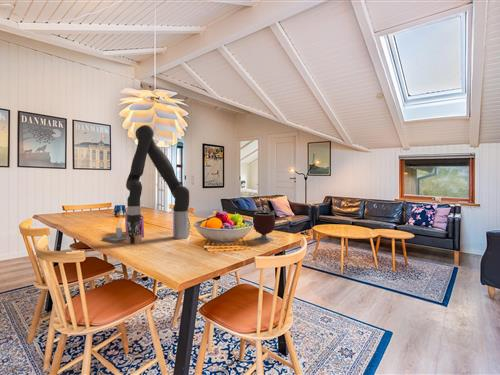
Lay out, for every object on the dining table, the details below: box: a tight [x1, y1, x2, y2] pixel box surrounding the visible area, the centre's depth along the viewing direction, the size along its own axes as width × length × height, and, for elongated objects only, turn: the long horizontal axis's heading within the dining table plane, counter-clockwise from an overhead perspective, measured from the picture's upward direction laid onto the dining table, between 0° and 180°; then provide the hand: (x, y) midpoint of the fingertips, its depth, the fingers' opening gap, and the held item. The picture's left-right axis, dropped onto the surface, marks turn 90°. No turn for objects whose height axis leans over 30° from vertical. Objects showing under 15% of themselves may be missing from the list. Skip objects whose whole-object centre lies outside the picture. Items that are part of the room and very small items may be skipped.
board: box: [102, 226, 128, 244], centre depth 169 cm, size 13×13×8 cm
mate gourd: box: [252, 209, 277, 243], centre depth 174 cm, size 16×14×20 cm
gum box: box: [124, 212, 145, 239], centre depth 182 cm, size 24×8×14 cm, turn 33°
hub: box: [125, 234, 142, 245], centre depth 162 cm, size 5×7×4 cm
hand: (134, 241), depth 162 cm, fingers closed on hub, 5 cm apart
